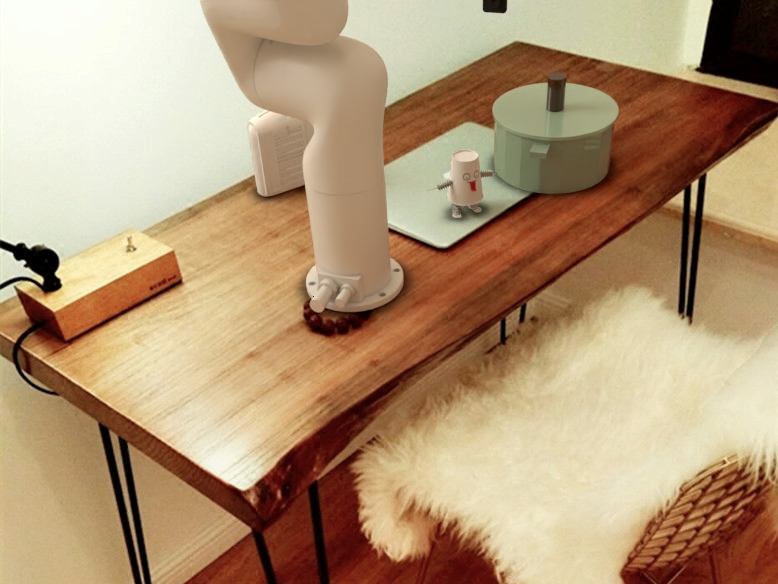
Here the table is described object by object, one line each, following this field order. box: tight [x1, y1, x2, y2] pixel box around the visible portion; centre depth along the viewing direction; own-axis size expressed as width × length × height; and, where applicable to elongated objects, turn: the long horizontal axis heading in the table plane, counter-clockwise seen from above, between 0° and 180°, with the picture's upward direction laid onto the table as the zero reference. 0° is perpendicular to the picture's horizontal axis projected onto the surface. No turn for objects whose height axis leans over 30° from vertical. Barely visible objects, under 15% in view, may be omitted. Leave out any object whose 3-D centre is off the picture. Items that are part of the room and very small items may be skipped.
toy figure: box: [426, 148, 504, 219], centre depth 127 cm, size 12×6×9 cm, turn 114°
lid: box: [491, 72, 620, 141], centre depth 131 cm, size 18×18×6 cm
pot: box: [493, 120, 616, 195], centre depth 136 cm, size 17×23×8 cm
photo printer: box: [246, 109, 314, 198], centre depth 134 cm, size 10×4×12 cm, turn 123°
